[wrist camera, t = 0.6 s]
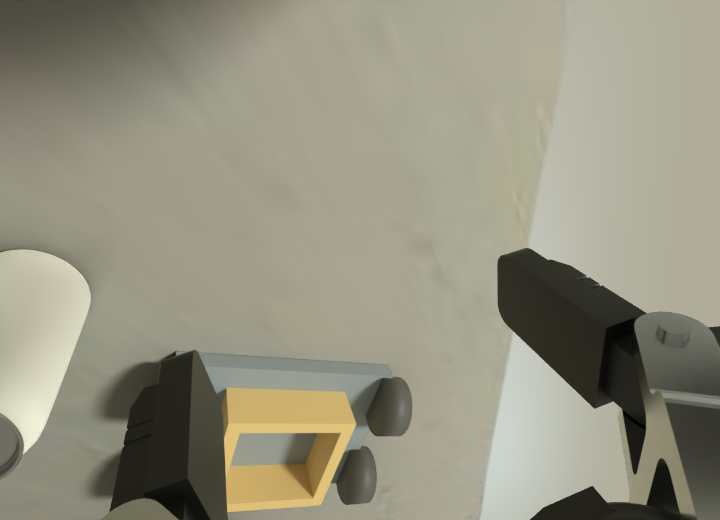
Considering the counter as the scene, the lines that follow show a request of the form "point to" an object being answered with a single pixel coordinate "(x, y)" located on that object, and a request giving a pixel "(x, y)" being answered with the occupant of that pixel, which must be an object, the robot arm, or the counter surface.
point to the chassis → (302, 427)
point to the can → (34, 343)
